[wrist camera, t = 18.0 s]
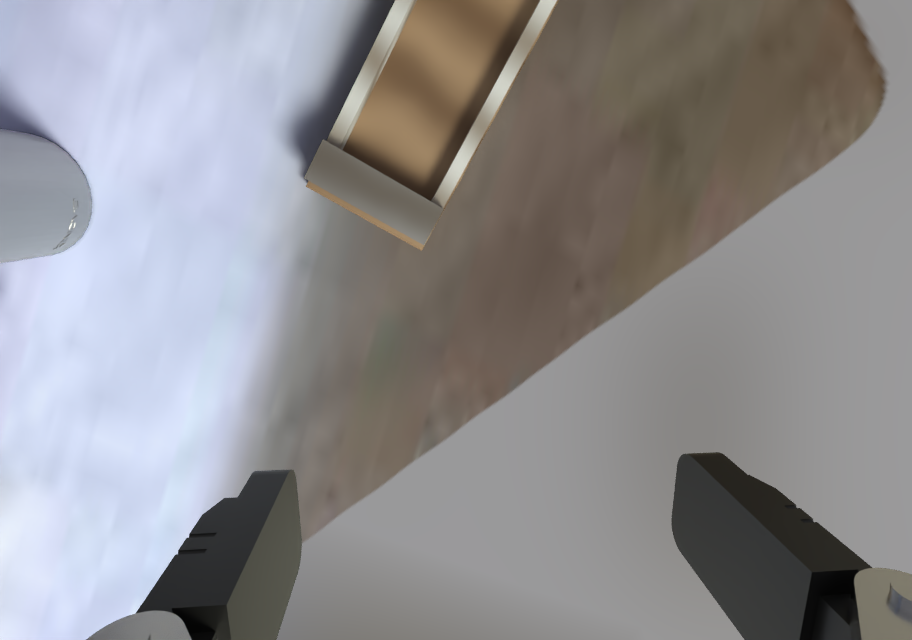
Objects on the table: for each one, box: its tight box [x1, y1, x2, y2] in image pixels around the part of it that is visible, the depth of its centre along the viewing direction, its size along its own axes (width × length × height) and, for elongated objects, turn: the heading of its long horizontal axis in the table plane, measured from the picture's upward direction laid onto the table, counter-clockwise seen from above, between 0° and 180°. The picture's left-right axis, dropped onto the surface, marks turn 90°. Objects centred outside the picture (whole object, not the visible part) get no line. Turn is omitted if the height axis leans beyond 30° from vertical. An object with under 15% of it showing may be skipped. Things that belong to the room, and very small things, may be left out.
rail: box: [304, 0, 559, 251], centre depth 36 cm, size 32×10×4 cm, turn 151°
